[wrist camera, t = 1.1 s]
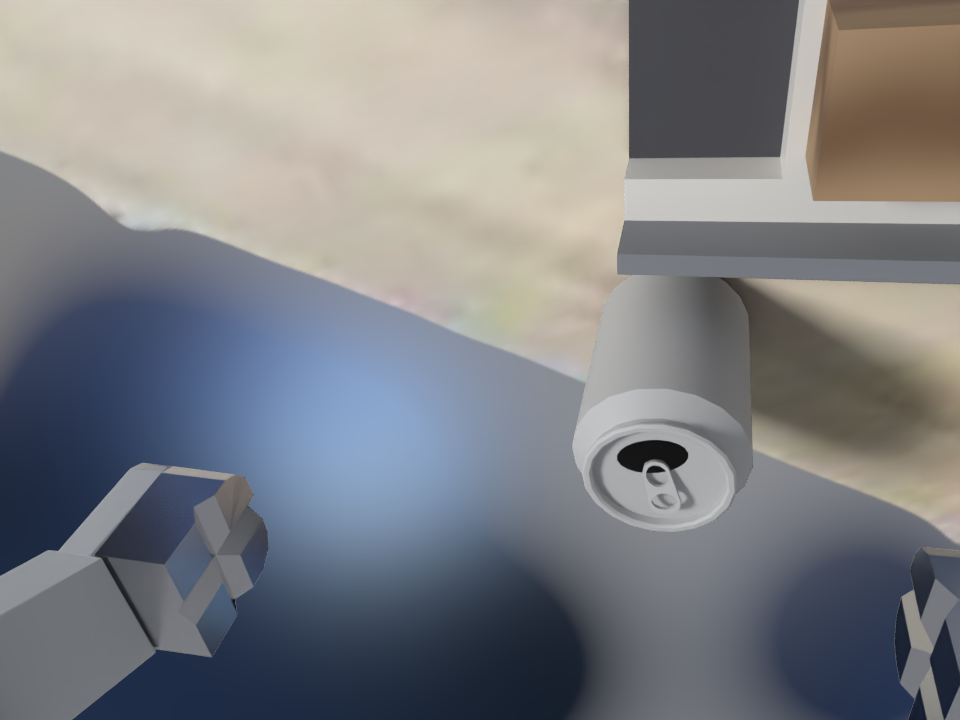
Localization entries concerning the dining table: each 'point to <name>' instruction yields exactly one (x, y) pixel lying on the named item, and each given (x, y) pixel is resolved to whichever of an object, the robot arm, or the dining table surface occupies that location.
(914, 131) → the walnut block
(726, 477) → the can
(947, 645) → the robot arm
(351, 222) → the dining table surface
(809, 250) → the box
